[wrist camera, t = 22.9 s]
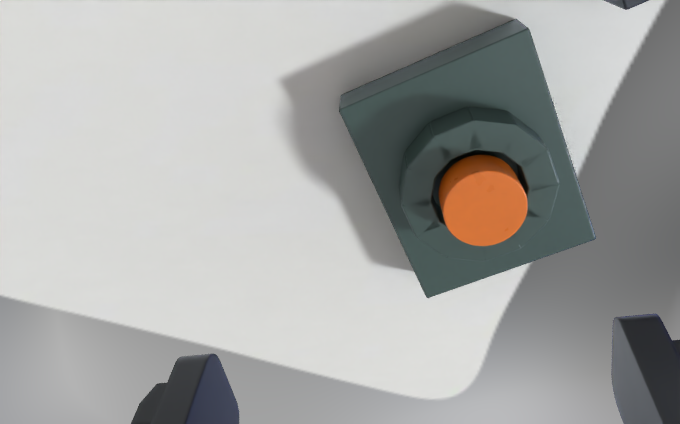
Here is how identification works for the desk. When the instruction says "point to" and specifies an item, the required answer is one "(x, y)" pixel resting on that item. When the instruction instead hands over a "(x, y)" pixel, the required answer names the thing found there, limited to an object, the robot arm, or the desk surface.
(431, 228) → the control block
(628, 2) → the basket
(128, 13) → the desk surface
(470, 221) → the button
